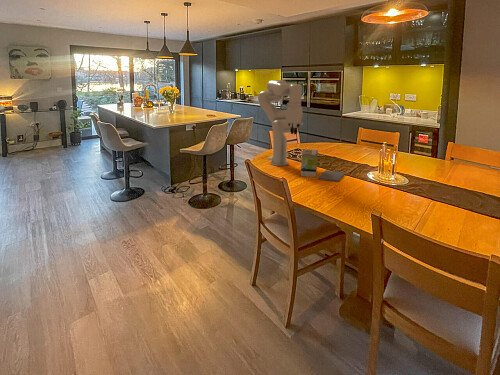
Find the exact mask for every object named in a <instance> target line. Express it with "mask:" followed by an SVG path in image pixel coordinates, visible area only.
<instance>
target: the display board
mask: <svg viewBox="0 0 500 375" xmlns="http://www.w3.org/2000/svg"><path fill="white" fill-rule="evenodd" d="M345 175H346V172H342V171H335V170H327V169H326V170H324V171H323V172H321V173H320V174H319V175H318V176H316V177H317V178H316V179H317V180H322V181H328V182H336V183H338V182H339V181H340V180H341V179H342V178H343V177H344V176H345Z"/></svg>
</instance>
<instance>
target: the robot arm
mask: <svg viewBox="0 0 500 375" xmlns="http://www.w3.org/2000/svg"><path fill="white" fill-rule="evenodd" d="M302 88H303V86H302V85H301V84H297V83H293V82H292V83H289V82H288V83H287V81H286V80H285V79H273V80H269V81H268V82H267V84H266V89H267V90H263V91H260V92H259V93H258V96H257V100H258V101H257V102H258V104H259V106H260V108H261V109H262V111H264V113H265V114H266V117H268V119H269V121H270V123H272V124H271V127H272V135H273V137H272V138H273V139H272V140H273V141H272V147H273V148H272V156H268V157H267V160H268V161H270V165H272V166H277V167H283V166H288V164H289V162H288V161H287V151H288V150H287V149H288V147H287V146H288V145H287V144H288V143H287V142H288V139H287V137H286V135H285V134H289V133H290V134H291V135H297V134H298V128H299V127H300V126H303V125H304V114H303V113H304V112H303V107H302V93H303V92H302V91H303V89H302ZM287 96H288V102H287V103H286V105H287V109H278V108H277V106H276V105H275V104H274V103H279V102H281V101H282V99H283V98H284V97H287Z"/></svg>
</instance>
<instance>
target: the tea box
mask: <svg viewBox="0 0 500 375" xmlns="http://www.w3.org/2000/svg"><path fill="white" fill-rule="evenodd" d="M318 156H319V150H318V149H309V148H308V149H307V148H303V150H302V153H301V165H300V177H307V178H311V177H312V178H316V177H317V169H318V160H319V159H318V158H319V157H318Z"/></svg>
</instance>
